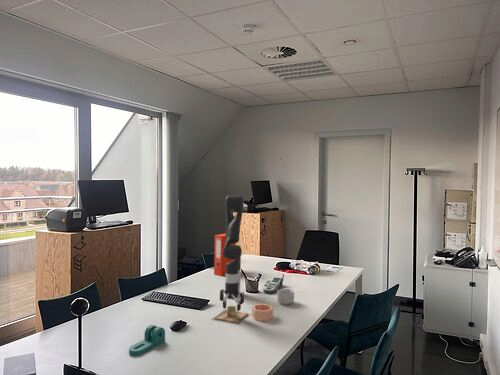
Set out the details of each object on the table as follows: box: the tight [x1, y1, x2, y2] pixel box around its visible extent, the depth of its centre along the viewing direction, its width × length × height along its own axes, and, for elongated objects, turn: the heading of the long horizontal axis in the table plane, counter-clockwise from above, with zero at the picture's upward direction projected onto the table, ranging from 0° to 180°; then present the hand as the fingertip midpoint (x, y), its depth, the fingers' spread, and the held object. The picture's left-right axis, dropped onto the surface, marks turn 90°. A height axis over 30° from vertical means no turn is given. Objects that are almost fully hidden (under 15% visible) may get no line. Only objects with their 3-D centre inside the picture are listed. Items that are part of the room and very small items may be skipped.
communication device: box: [263, 274, 285, 295], centre depth 262 cm, size 12×24×9 cm, turn 159°
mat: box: [210, 309, 252, 326], centre depth 208 cm, size 17×17×1 cm
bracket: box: [128, 324, 166, 357], centre depth 172 cm, size 18×7×8 cm, turn 150°
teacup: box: [276, 287, 295, 306], centre depth 234 cm, size 14×11×8 cm
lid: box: [214, 305, 249, 323], centre depth 208 cm, size 14×14×6 cm
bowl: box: [251, 303, 274, 322], centre depth 208 cm, size 11×11×6 cm
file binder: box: [213, 232, 237, 277], centre depth 302 cm, size 8×17×32 cm, turn 142°
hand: (231, 309), depth 208 cm, fingers open, 8 cm apart
